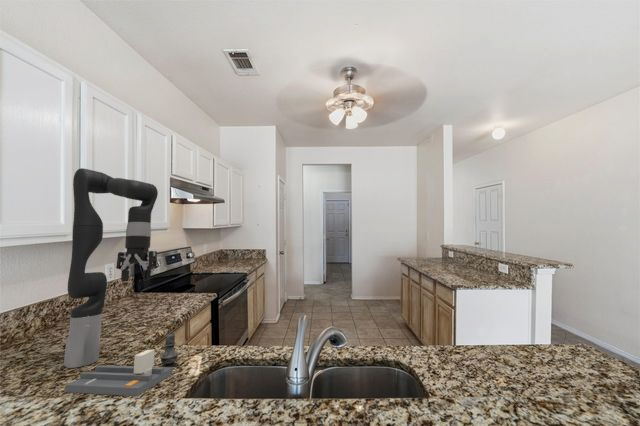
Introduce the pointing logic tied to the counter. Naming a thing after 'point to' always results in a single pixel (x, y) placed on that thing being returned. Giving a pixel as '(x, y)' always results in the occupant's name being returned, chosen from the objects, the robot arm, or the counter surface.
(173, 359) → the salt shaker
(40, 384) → the counter surface
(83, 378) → the fader console
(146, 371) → the fader tab
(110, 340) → the counter surface
